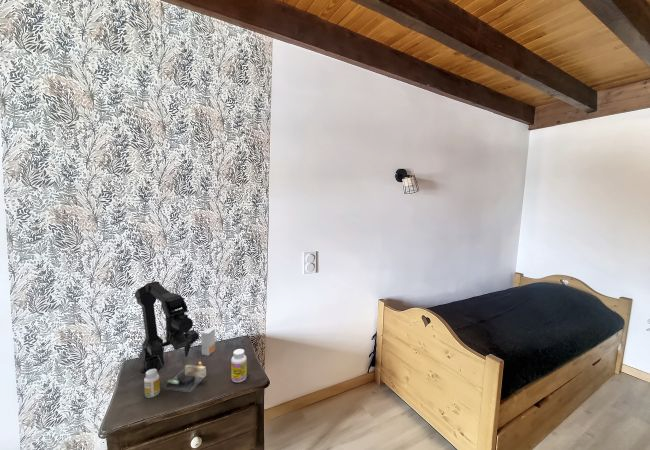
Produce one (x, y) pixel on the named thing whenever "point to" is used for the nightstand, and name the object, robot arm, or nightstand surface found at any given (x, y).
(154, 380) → the supplement bottle
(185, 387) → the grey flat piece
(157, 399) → the nightstand surface
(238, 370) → the supplement bottle
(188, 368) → the knob
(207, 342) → the skincare box
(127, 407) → the nightstand surface
